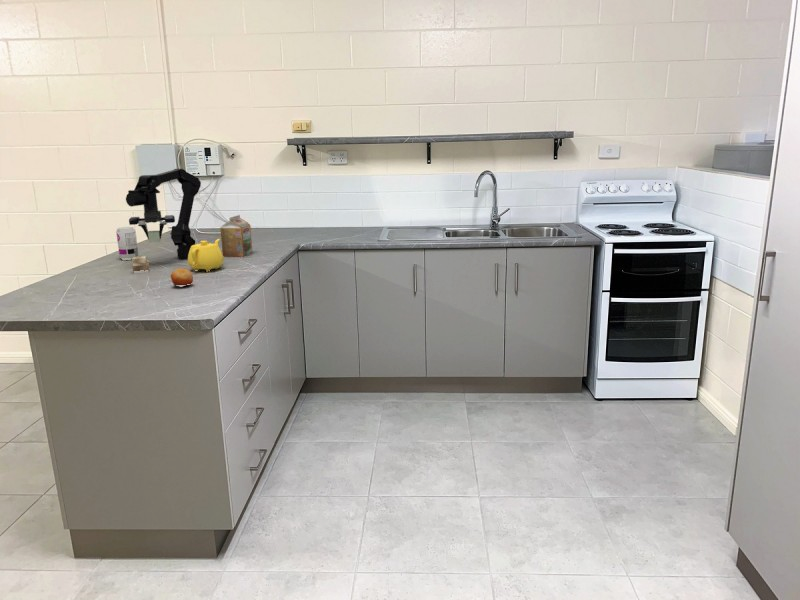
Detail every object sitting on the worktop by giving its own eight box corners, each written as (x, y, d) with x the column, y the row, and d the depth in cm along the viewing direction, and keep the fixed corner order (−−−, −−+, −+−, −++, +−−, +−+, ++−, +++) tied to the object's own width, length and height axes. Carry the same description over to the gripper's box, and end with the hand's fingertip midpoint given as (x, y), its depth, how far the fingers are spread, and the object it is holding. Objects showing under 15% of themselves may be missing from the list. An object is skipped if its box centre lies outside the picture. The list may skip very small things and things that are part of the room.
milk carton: (243, 257, 293) (239, 217, 288) (222, 257, 295) (219, 217, 290) (252, 253, 303) (249, 214, 298) (232, 252, 305) (229, 214, 300)
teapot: (180, 273, 261) (177, 243, 258) (209, 263, 279) (206, 236, 276) (207, 274, 257) (204, 244, 253) (235, 265, 275) (232, 237, 272)
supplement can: (118, 261, 288) (114, 229, 284) (121, 258, 296) (117, 227, 292) (137, 260, 290) (133, 228, 286) (139, 257, 298) (135, 226, 294)
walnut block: (149, 270, 268) (148, 262, 268) (148, 273, 263) (147, 265, 262) (135, 271, 267) (134, 263, 266) (133, 274, 261) (132, 266, 260)
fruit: (183, 278, 244) (187, 263, 239) (193, 291, 241) (198, 275, 236) (164, 282, 238) (168, 266, 233) (175, 295, 235) (179, 279, 230)
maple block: (146, 262, 267) (145, 256, 266) (145, 265, 262) (144, 258, 262) (134, 263, 265) (133, 257, 265) (133, 266, 261) (132, 259, 260)
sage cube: (160, 240, 278) (159, 230, 277) (159, 241, 274) (158, 231, 273) (149, 240, 277) (148, 231, 276) (149, 242, 273) (147, 232, 271)
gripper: (125, 207, 261) (130, 243, 265) (171, 205, 266) (175, 240, 270) (128, 204, 271) (132, 239, 275) (173, 202, 277) (176, 236, 281)
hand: (154, 239), depth 275 cm, fingers closed on sage cube, 4 cm apart
